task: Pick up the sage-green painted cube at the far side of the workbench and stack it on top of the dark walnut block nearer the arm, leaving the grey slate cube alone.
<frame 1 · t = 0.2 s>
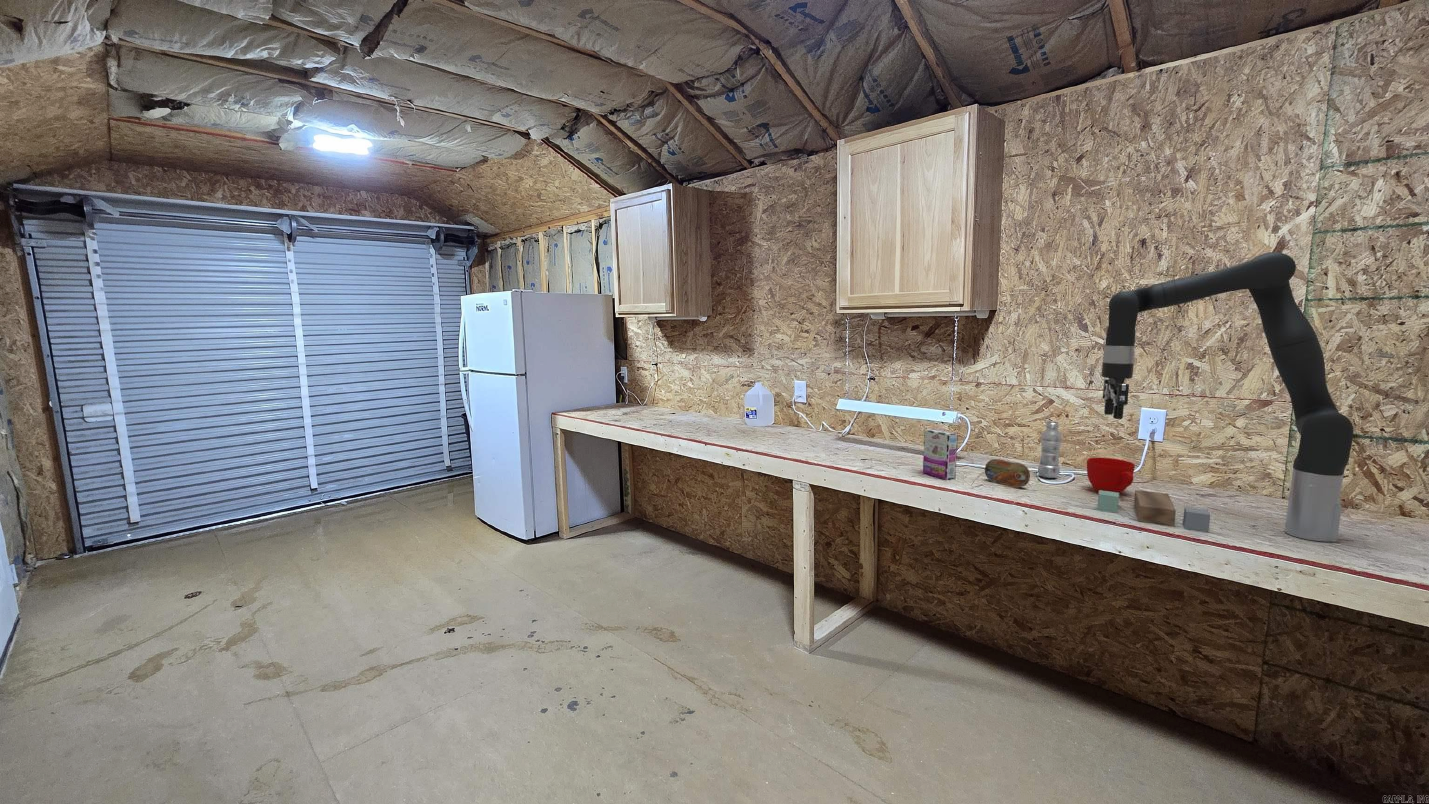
hand: (1113, 416, 176), 28 cm above the workbench, tool pointing down, fingers open, 8 cm apart
green cube: (1107, 509, 178), on the workbench
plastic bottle: (1048, 478, 213), on the workbench
slate cube: (1195, 528, 162), on the workbench
walnut block: (1152, 516, 173), on the workbench
tin: (1006, 485, 204), on the workbench
candy bar box: (938, 476, 216), on the workbench
ceramic cup: (1111, 494, 194), on the workbench
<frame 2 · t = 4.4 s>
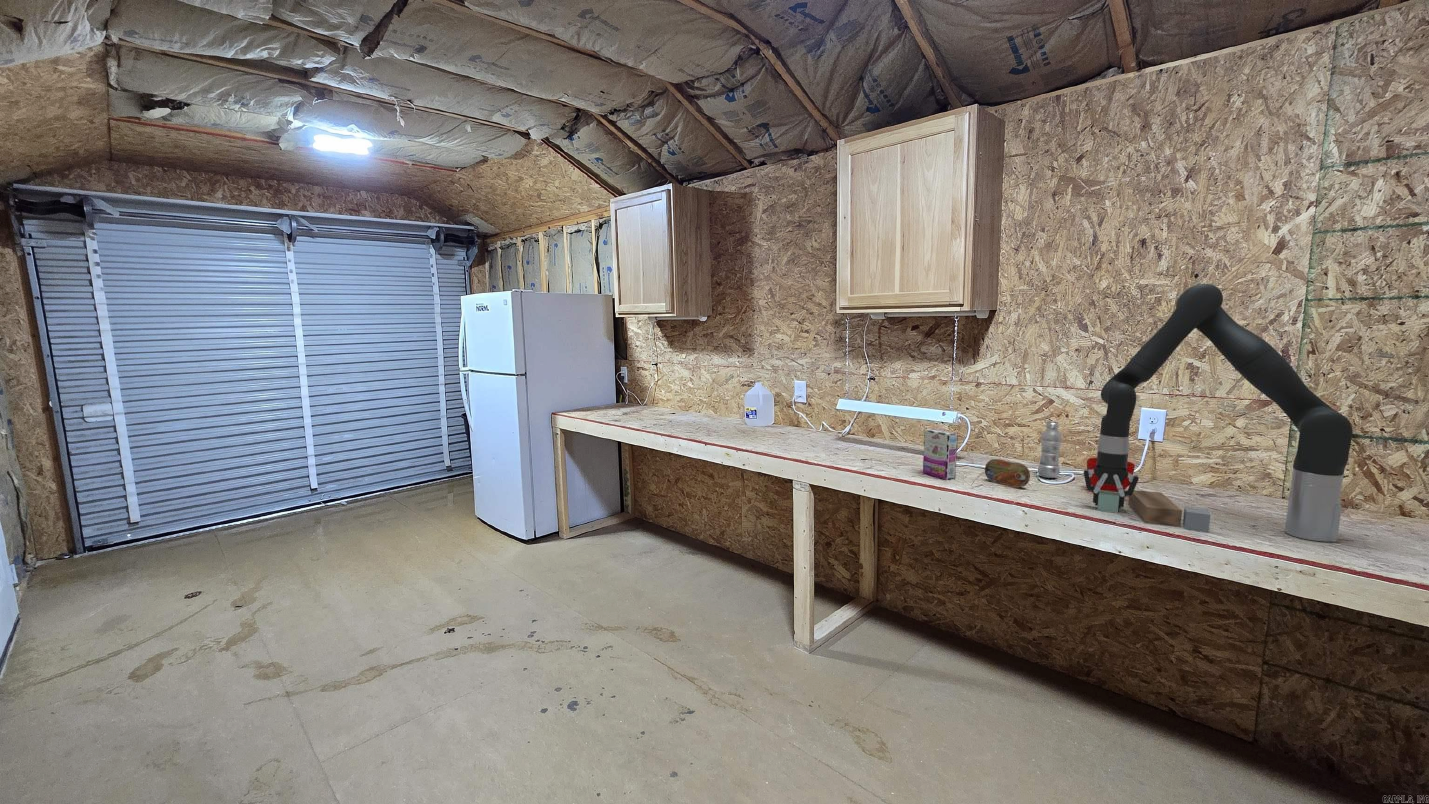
hand: (1107, 506, 178), 1 cm above the workbench, tool pointing down, fingers closed on green cube, 5 cm apart
green cube: (1107, 509, 178), on the workbench, touching gripper
when the fingers open (7 cm above the workbench, at t = 10.4 s): green cube drops 1 cm, point 5 cm above the workbench.
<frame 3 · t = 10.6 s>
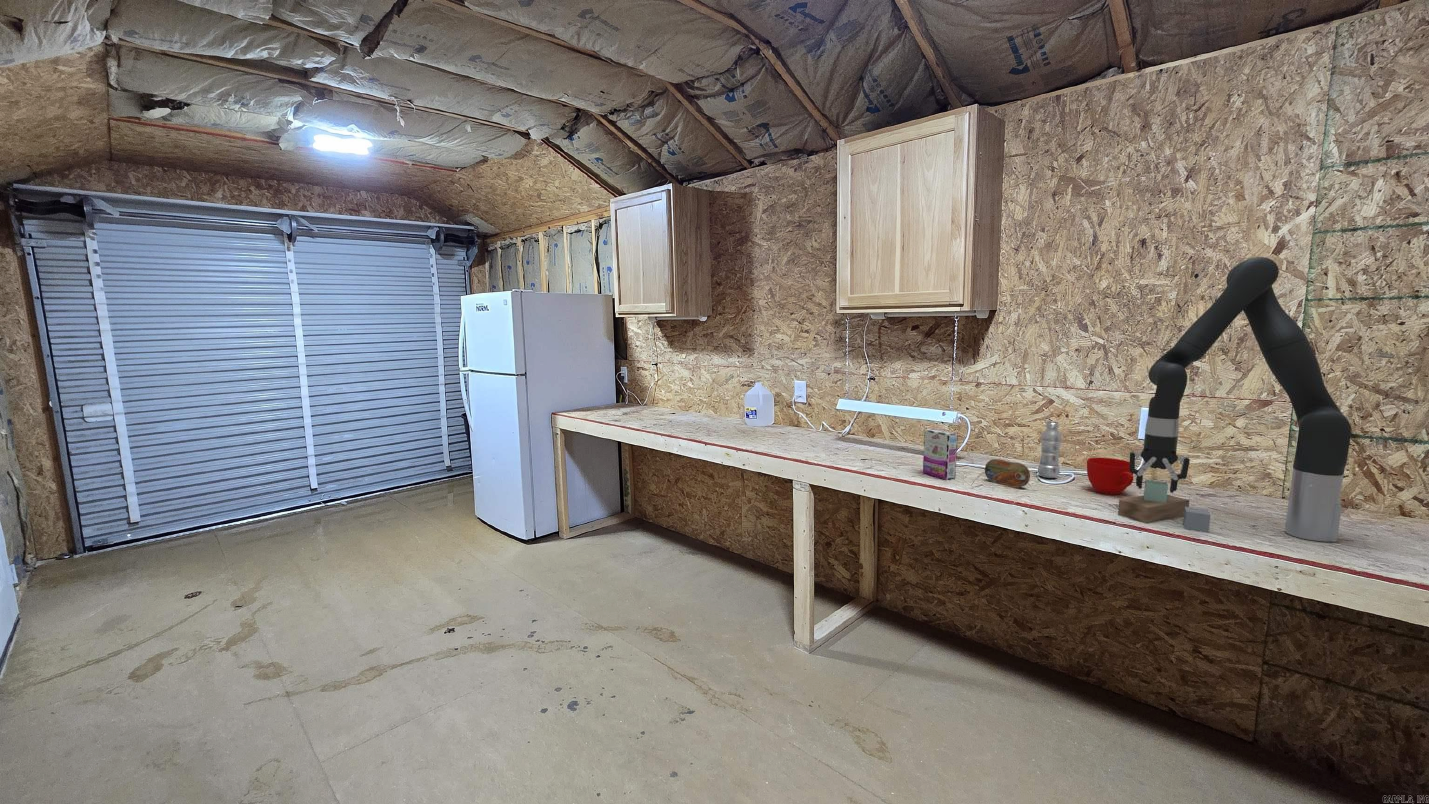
hand: (1155, 490, 172), 7 cm above the workbench, tool pointing down, fingers open, 6 cm apart
green cube: (1154, 499, 172), point 5 cm above the workbench
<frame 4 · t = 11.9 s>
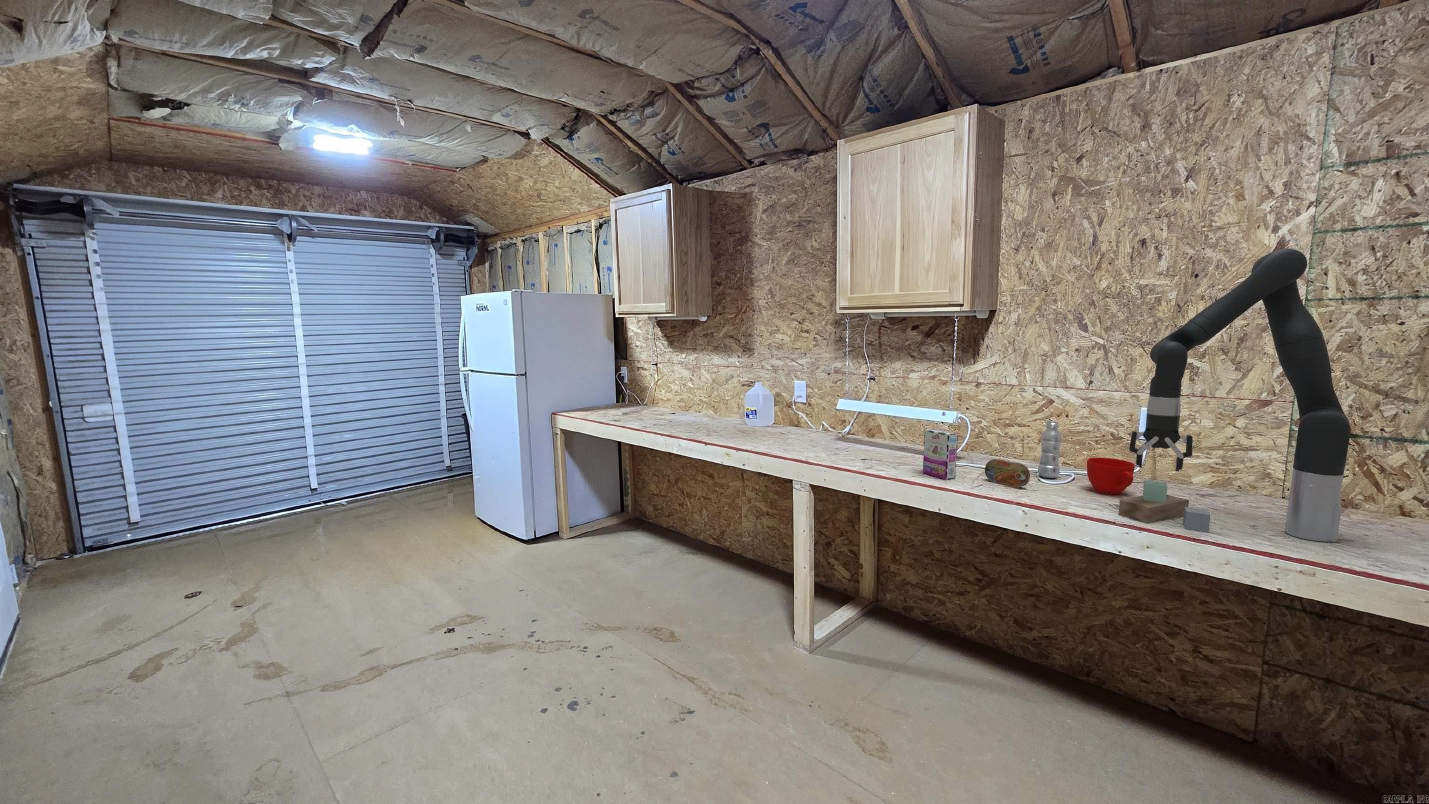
hand: (1158, 468, 170), 14 cm above the workbench, tool pointing down, fingers open, 8 cm apart
green cube: (1153, 499, 172), point 5 cm above the workbench, touching walnut block
walnut block: (1152, 516, 173), on the workbench, touching green cube
everything else where it was.
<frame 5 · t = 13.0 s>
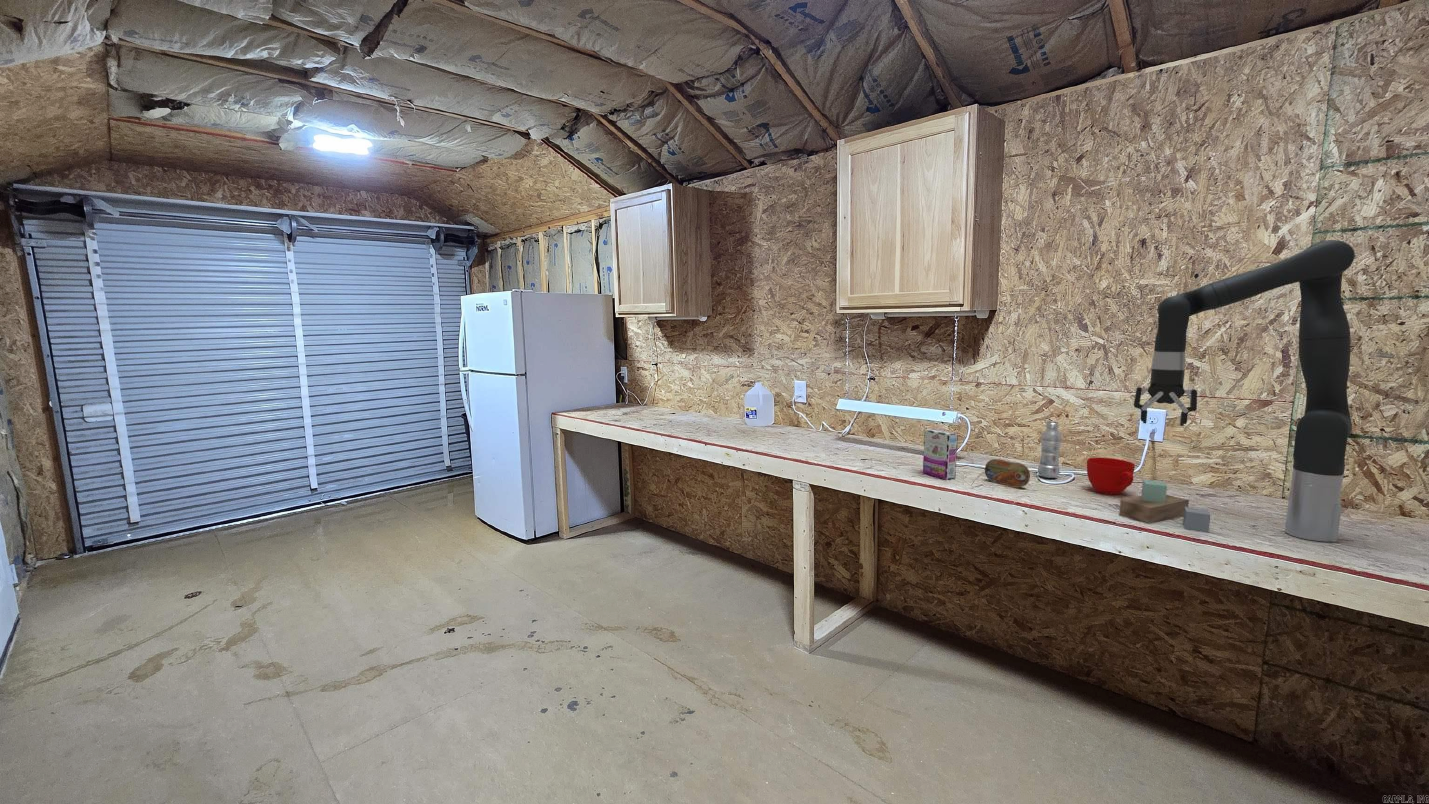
hand: (1162, 424, 171), 26 cm above the workbench, tool pointing down, fingers open, 8 cm apart
nothing on the workbench moved.
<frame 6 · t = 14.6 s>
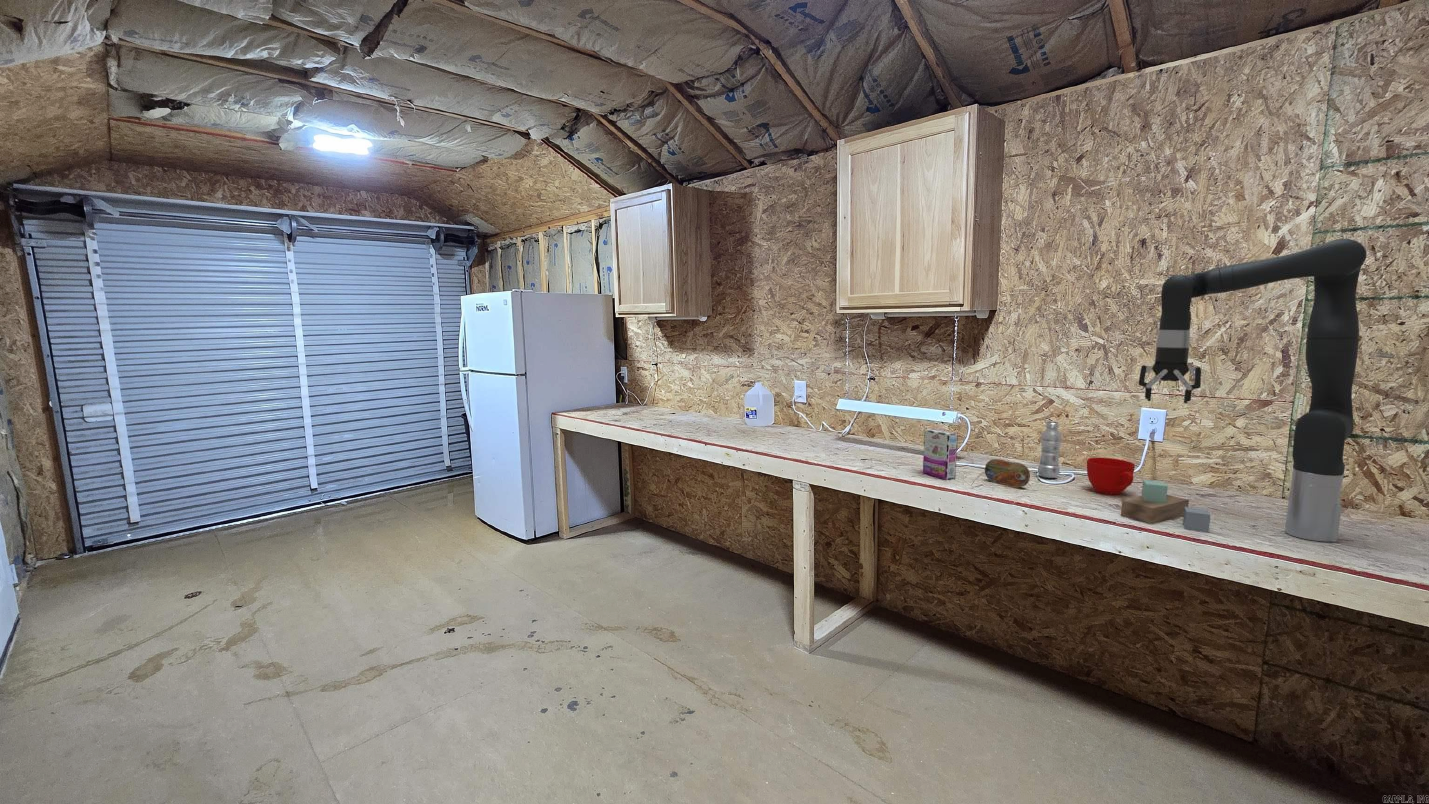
hand: (1166, 401, 174), 32 cm above the workbench, tool pointing down, fingers open, 8 cm apart
nothing on the workbench moved.
at the end: green cube inside the target area on the walnut block (0.6 cm from its centre), point 5.0 cm above the walnut block's base; green cube tilted 0°; green cube touching nothing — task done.
